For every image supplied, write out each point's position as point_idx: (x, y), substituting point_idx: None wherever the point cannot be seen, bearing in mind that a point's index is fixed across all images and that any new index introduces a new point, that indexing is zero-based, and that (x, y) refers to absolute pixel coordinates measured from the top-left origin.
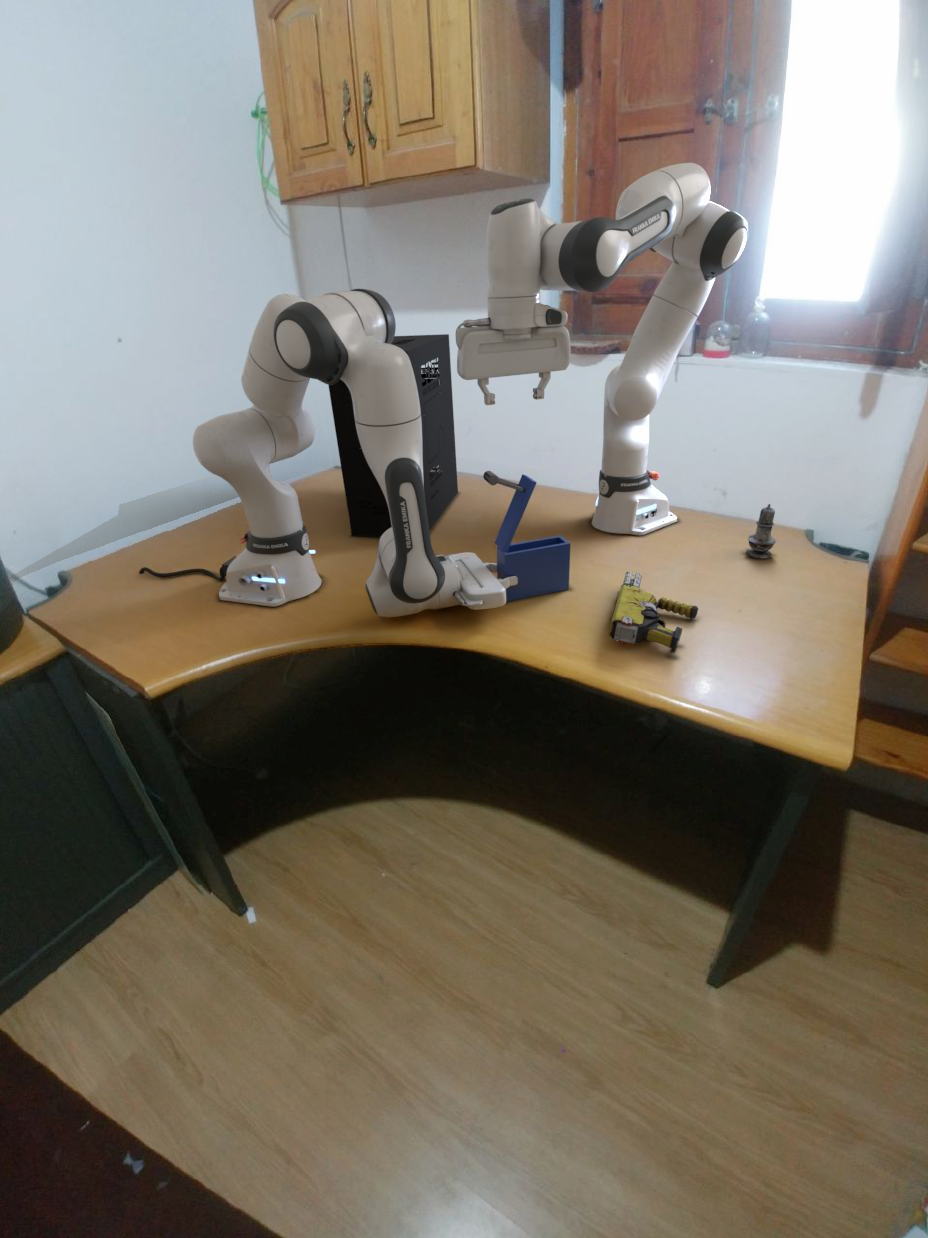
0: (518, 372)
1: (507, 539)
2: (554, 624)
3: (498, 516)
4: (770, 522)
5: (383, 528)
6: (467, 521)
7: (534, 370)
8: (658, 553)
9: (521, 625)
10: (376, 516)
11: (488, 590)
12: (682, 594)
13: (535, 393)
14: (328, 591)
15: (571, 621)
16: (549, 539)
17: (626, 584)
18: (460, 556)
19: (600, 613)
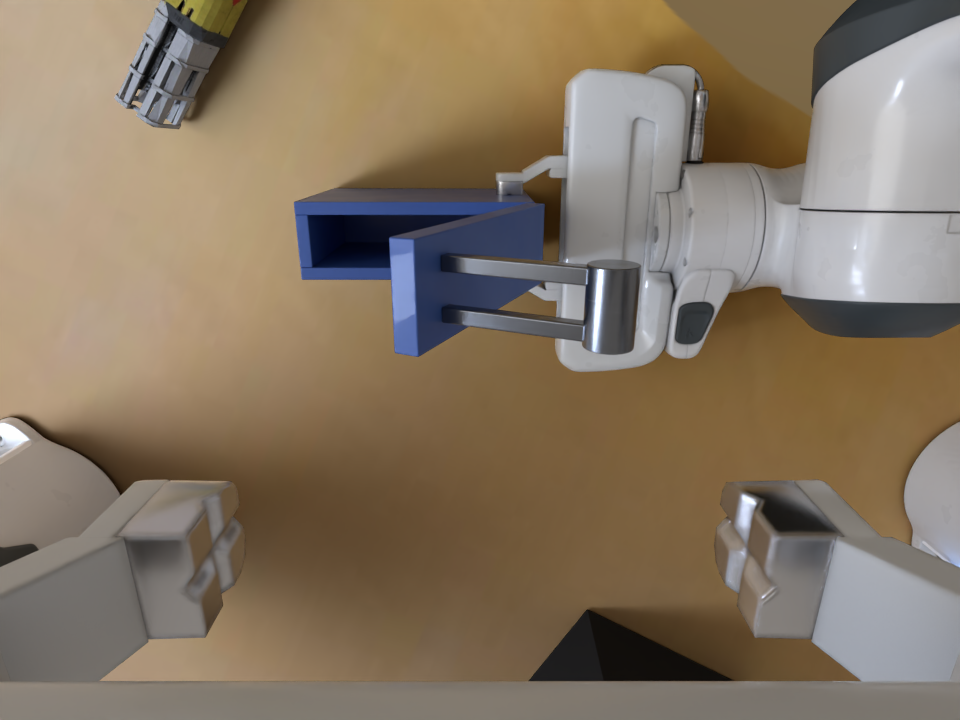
0: (466, 702)
1: (527, 208)
2: (447, 8)
3: (355, 665)
4: None
5: (683, 672)
6: (444, 665)
7: (81, 710)
8: (5, 296)
9: (533, 41)
10: None
11: (627, 87)
12: (29, 24)
13: (211, 553)
14: (908, 423)
15: (397, 4)
16: (347, 266)
17: (188, 21)
18: None
19: (302, 15)
